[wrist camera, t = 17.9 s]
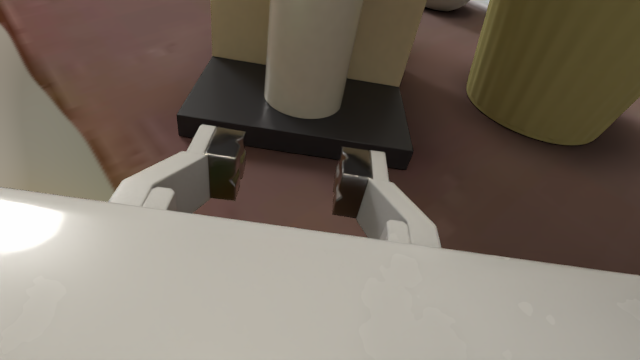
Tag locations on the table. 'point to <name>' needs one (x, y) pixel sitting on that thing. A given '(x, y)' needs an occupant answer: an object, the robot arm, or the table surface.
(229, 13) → the coffee maker
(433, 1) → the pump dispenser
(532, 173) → the table surface
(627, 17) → the potted cactus
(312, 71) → the coffee cup
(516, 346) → the robot arm
